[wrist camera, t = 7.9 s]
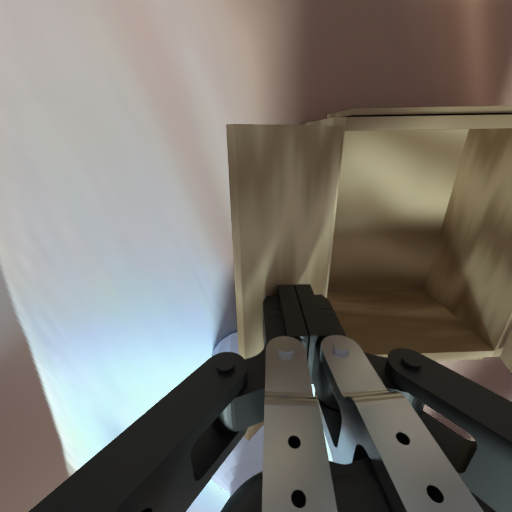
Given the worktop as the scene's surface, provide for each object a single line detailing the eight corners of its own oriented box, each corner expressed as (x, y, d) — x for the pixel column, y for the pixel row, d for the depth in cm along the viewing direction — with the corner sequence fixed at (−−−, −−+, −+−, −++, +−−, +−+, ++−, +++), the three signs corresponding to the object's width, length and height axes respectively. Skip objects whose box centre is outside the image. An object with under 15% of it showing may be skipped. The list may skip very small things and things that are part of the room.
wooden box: (425, 295, 28) (497, 360, 20) (292, 299, 28) (311, 367, 20) (476, 115, 22) (617, 103, 13) (300, 117, 21) (334, 108, 13)
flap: (317, 365, 19) (248, 441, 14) (312, 362, 19) (243, 436, 15) (342, 125, 13) (235, 123, 8) (335, 126, 13) (226, 124, 8)
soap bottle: (206, 381, 33) (118, 923, 10) (218, 321, 29) (123, 951, 7) (278, 391, 34) (341, 902, 11) (299, 333, 30) (451, 917, 8)
